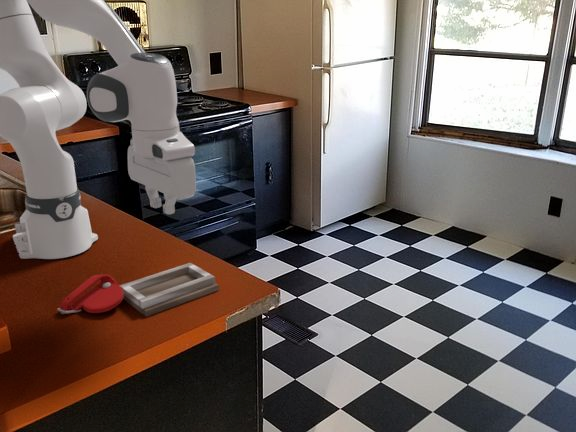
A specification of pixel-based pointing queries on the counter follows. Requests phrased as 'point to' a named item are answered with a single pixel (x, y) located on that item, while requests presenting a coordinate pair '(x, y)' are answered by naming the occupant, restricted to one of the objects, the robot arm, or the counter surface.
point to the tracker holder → (94, 296)
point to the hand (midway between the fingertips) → (162, 210)
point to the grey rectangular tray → (168, 289)
